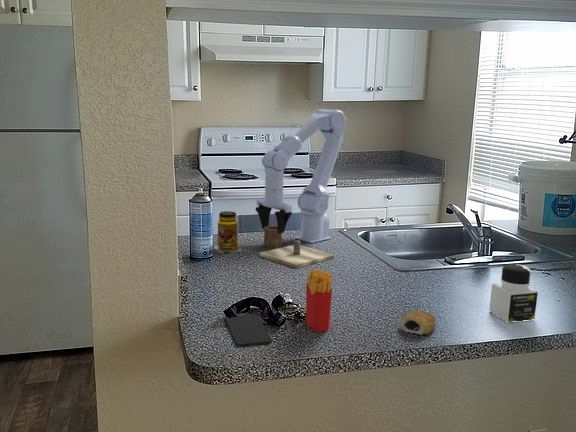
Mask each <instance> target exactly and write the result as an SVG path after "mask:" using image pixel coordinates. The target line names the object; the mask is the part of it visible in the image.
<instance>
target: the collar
mask: <svg viewBox="0 0 576 432" xmlns="http://www.w3.org/2000/svg"><path fill="white" fill-rule="evenodd" d="M282 237H283V233H278V230H277V225H269V226H266V227H265V228H264V229H263V247H264V248H268V249H278V248H282V240H283V239H282Z"/></svg>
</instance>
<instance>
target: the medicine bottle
mask: <svg viewBox="0 0 576 432" xmlns="http://www.w3.org/2000/svg"><path fill="white" fill-rule="evenodd" d="M501 269H502V270H501V278H500V282H494V283H491V292H490V301H489V309H488V311H491V312H492V313H494V314H495V315H497V316H499V317H501V318H502V319H504V320H506V321H508V322H513V321H523V320H532V319H534V320H535V317H536V311H537V309H536V308H537V304H538V294H539V293H538V292H539V291H538V290H536V289H534V288H532V287H530V285H531V276H532V269H530V268H529V267H527V266H526V265H522V264H517V263H510V264H509V263H508V264H506V265H504V266H502V268H501ZM492 313H491V314H492ZM494 314H493V315H494ZM495 315H494V316H495ZM497 316H496V317H497ZM499 317H498V318H499ZM502 319H501V320H502ZM504 320H503V321H504Z"/></svg>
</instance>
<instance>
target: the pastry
mask: <svg viewBox="0 0 576 432" xmlns="http://www.w3.org/2000/svg"><path fill="white" fill-rule="evenodd" d="M435 325H436V318H435V316H434V315H433V314H432V313H429V312H427V311H425V310H416V311H415V310H414V311H408V312H407V313H405V314H403V316H402V317H401V319H400V322H399V323H398V326H397V327H398V328H399V330H400V329H401V330H400V331H402V330H404V331H406V332H405V333H407V332H410V333H409V334H413V333H415V335H417V334H419V335H418V336H424V335H423V334H427V335H430V334H431V333H432V332H433V330H434V329H435V328H434V327H435ZM404 331H403V332H404Z"/></svg>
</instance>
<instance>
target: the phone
mask: <svg viewBox="0 0 576 432" xmlns="http://www.w3.org/2000/svg"><path fill="white" fill-rule="evenodd" d="M240 315H241V316H237V317H231V318H229V317H227V316H225V317H224V321H225V323H226V326H227V328H228V330H229V332H230V334H231V337H232V339H233V341H234V343H235V345H236V347H239V348H241V347H242V348H243V347H252V346H261V345H270V344H272V343H273V339H272V337H271V335H270V333H269V332H268V331H267V329H266V327H265V325H264V324H263V322H262V320H261V319H260V317H259V316H258V314H254V313H252V314H240Z"/></svg>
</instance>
